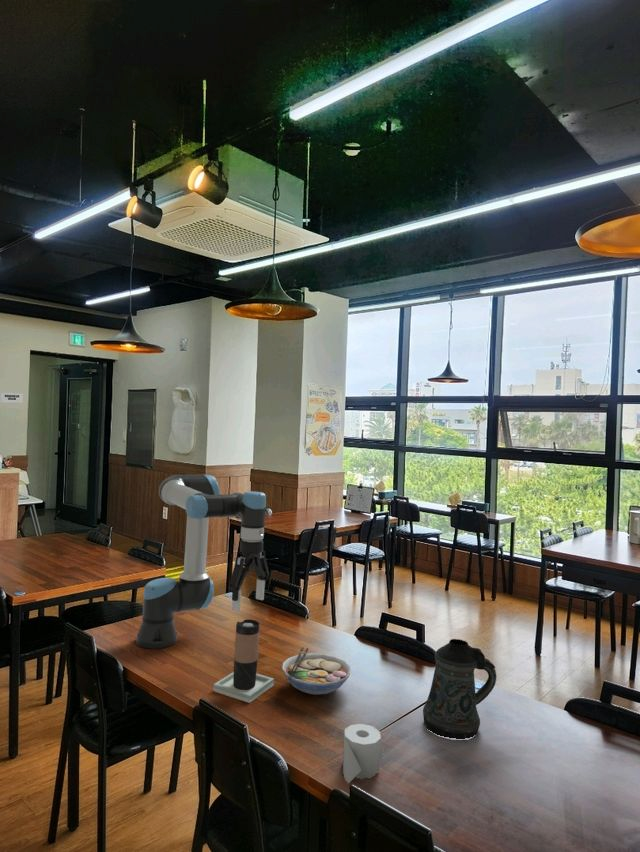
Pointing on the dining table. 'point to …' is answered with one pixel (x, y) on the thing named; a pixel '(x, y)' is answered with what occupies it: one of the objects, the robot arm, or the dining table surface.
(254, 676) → the travel mug
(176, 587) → the robot arm
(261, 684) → the square plate
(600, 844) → the dining table surface
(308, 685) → the ramen bowl
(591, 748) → the dining table surface
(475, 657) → the beer stein
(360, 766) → the toilet tissue
